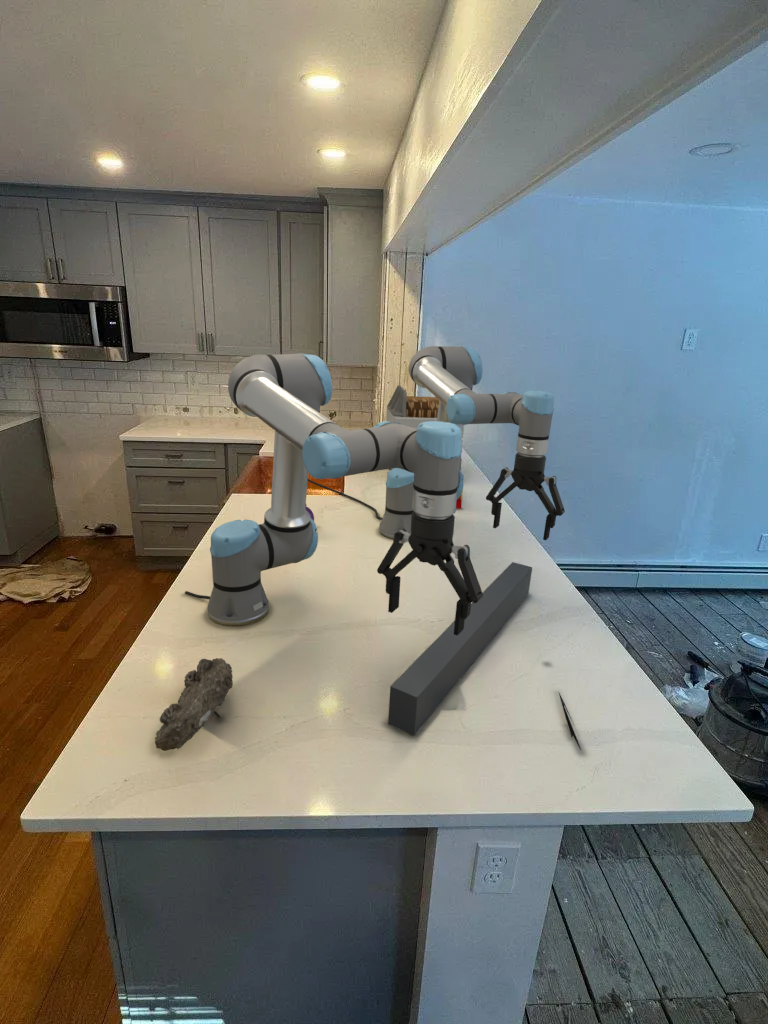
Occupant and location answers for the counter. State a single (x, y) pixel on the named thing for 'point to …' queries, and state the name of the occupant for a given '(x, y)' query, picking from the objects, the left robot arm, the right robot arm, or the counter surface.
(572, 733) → the feather
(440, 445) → the left robot arm
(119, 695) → the counter surface
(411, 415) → the grey storage crate
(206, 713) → the fossil
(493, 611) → the bar
